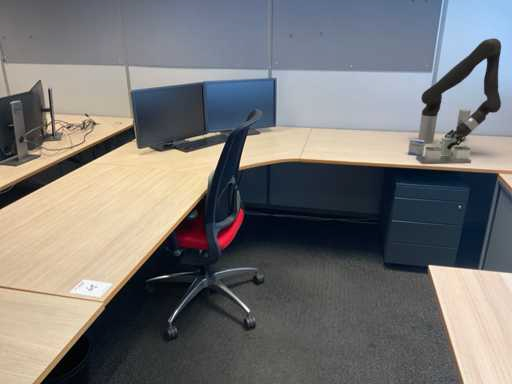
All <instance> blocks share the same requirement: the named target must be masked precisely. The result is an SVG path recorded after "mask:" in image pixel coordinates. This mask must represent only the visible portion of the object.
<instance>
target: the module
mask: <svg viewBox="0 0 512 384" xmlns="http://www.w3.org/2000/svg"><path fill="white" fill-rule="evenodd" d="M452 142H453V139H451V138H445V137H442V138H441V144H440V148H441V149H442V151H441V156H451V153H452V148H451V149H450V150H449V149H448V148H447V146H448V145H449V144H450V143H452Z"/></svg>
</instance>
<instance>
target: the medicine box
mask: <svg viewBox="0 0 512 384" xmlns="http://www.w3.org/2000/svg"><path fill="white" fill-rule="evenodd" d="M425 144H426V143H425V140H418V139H417V138H416V139H415V138H410V139H409V144H408V151H407V152H408V153H407V154H408V155H409V156H410V155H411V156H415V157H416V156H423V155H424V152H425V146H426V145H425Z"/></svg>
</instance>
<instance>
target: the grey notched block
mask: <svg viewBox="0 0 512 384" xmlns="http://www.w3.org/2000/svg"><path fill="white" fill-rule="evenodd" d="M441 151H442V149H441V147H439V146H426V147H424V154H423V155H424V156H423V155H422V156H416V155H415V157H416V158H415V159H416V160H417V161H418V162H419V163H420V164H422V165H436V164H437V165H439V164H440V165H443V164H447V165H448V164H472V159H470V153H471V148H470V147H468V146H453V150H452V155H441Z"/></svg>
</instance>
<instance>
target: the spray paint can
mask: <svg viewBox="0 0 512 384" xmlns="http://www.w3.org/2000/svg"><path fill="white" fill-rule="evenodd" d="M458 111H459V112H458V117H457V124H456V127H457V126H458V125H460V124H461V123H462V122H463V121H464V120H465V119H467V118H468V117H470V116H471V112H472V110H471V109H470V108H469V109H468V108H459V110H458ZM456 130H457V129H455V131H456ZM466 137H467V136H466ZM466 137H465V138H466ZM466 139H467V138H466ZM466 139H465V140H464V141H463V142H466ZM459 142H460V141H459ZM459 142H458V143H459ZM463 142H462V143H463Z"/></svg>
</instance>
